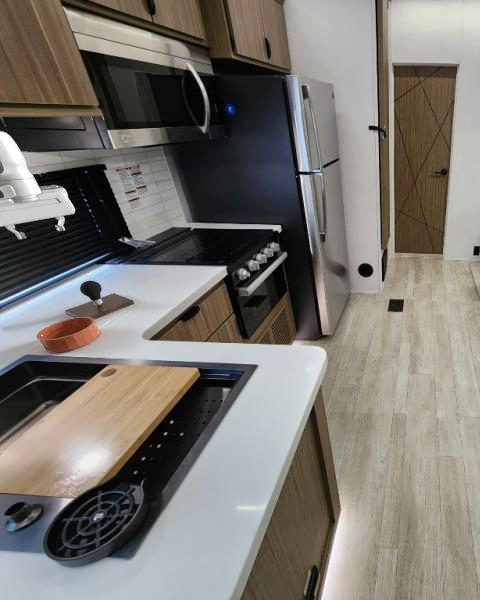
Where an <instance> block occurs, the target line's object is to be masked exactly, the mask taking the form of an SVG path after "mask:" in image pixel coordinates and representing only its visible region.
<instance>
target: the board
mask: <svg viewBox="0 0 480 600" xmlns="http://www.w3.org/2000/svg"><path fill="white" fill-rule="evenodd" d="M101 300H102V304H101V305H100V306H98V305H94V303H93V301H92V300H90V301H88V302H85V303H81V304H79V305H76V306H73V307H71V308H68V309H65V310H64V312H65V314H66V315H68V316H69V317H71V318H77V317H91V318H93V319H94V320H97V319H99V318H102V317H104V316H107V315H109V314H111V313H114V312H116V311H120V310H122V309H125V308H127V307H129V306H131V305H134V304H135V302H134V300H133V299H130V298H128V297H125V296H123V295H120V294H117V293H115V292H112V293H110V294H107V295H104V296H101Z"/></svg>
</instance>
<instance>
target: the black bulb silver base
mask: <svg viewBox="0 0 480 600" xmlns="http://www.w3.org/2000/svg"><path fill="white" fill-rule="evenodd" d="M102 289H103V288H102V285H101V284H100V283H99V282H98V281H95V280H86V281H83V282H82V283H81V284H80V286H79V291H80V293H81V294H82V295H84V296H86V297H87V298H89V299H90V301H93V303H94V305H98V306H100V305H101V304H102V300H101V297H102V296H101V292H102V291H103V290H102Z"/></svg>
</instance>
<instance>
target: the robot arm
mask: <svg viewBox="0 0 480 600" xmlns="http://www.w3.org/2000/svg"><path fill="white" fill-rule="evenodd" d="M75 213H76V208H75V207H74V205H73V203H72V202H71V200H70V198H69V194H68V192H67V189H65V188H64V187H63V186H61V185H57V184H51V185H41V186H39V184H38V182H37V180H36V178H35V177H34V174H33V173H31V171H30V170H29V168H28V165H27V160H26V158H25V157H24V155H23V152H22V151H21V149H20V148H19V146H18V145H17V143H16V141H15V140H14V139H13V138H12V136H11V135H10V134H8V133H7V132H5V131H4V130H0V227H1V228H2V227H5V229H7V231H9V232H11V233H13V234H15V236H16V237H17V239H18V240H24V239H25V240H26V239H27V236H26V234H25V232H23V231H17V230H16V226H15V225H18V224H23V223H30V222H35V221H42V220H47V219H52V218H55V219H56V220H58V222H57V224H55V225H54V227H55V229H56V230H57V231H58V232H63V231H66V228H65V226H64V225H65V221H66V218H65V217H64V216H70V215H74V214H75Z"/></svg>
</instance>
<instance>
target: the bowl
mask: <svg viewBox="0 0 480 600" xmlns="http://www.w3.org/2000/svg"><path fill="white" fill-rule="evenodd" d="M100 334H101V330H100V328H99V326H98V324H97V322H96V319H93V318H91V317H77V318H73V317H71V318H67V319H64V320H60V321H58V322H55V323H52V324H50V325H48V326H46V327H45V328H42V329H41V330H40V331H38V333H37V334H36V340H37V341H38V342H39V344H40V346H41V347H42V349H43V351H45V352H47V353H62V352H68V351H71V350H75V349H78V348H81V347H83V346H85V345H88V344H90V343H91V342H92V341H95V340H96V339H97V338H98V337H99V336H100Z"/></svg>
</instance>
